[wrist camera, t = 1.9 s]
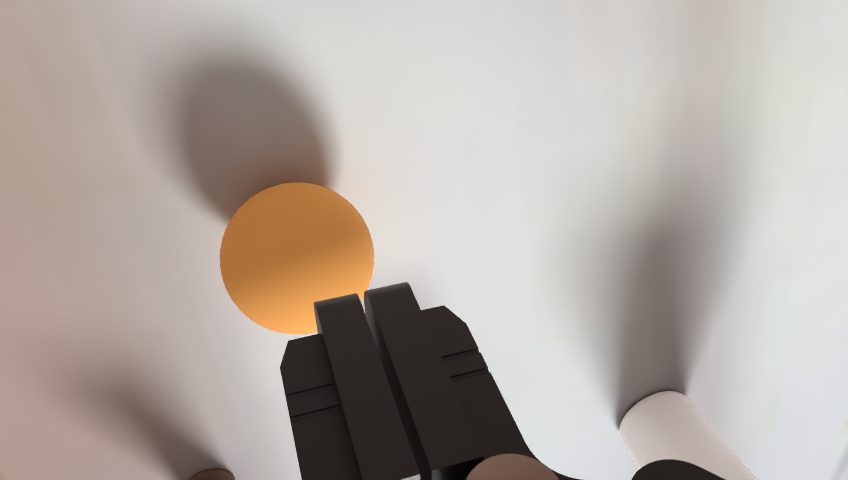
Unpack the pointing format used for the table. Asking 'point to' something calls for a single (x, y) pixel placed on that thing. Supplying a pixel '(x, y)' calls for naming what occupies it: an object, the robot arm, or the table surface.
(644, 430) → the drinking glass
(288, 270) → the ball
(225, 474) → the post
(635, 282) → the table surface
